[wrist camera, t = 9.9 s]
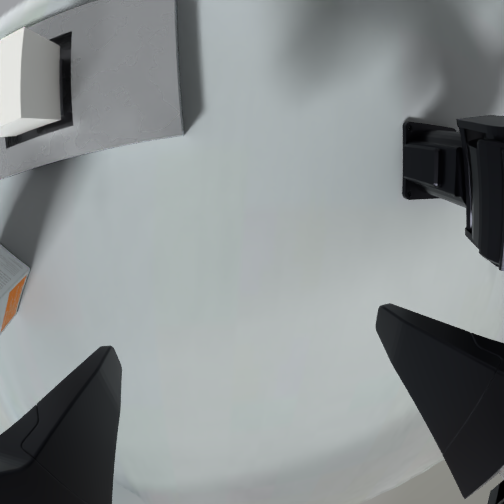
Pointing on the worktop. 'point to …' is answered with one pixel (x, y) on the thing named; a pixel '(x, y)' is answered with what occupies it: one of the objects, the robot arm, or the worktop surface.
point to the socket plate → (106, 82)
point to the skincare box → (10, 285)
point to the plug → (29, 82)
